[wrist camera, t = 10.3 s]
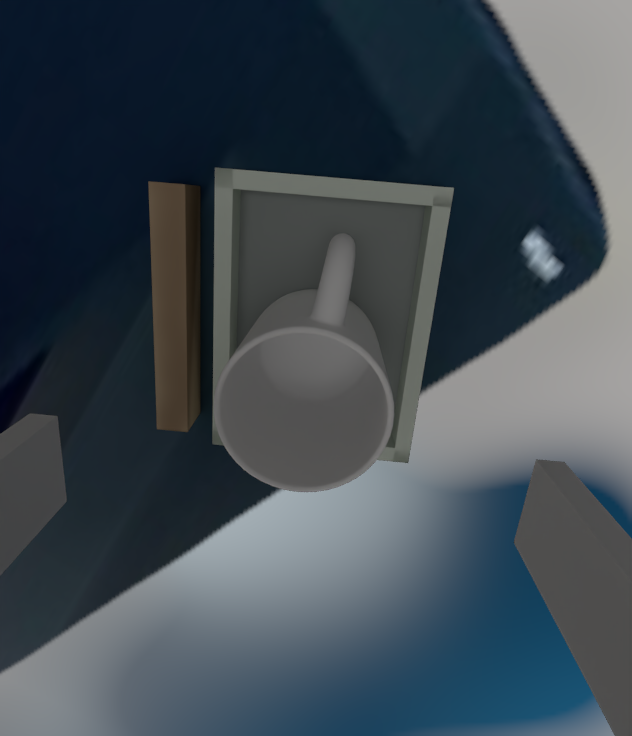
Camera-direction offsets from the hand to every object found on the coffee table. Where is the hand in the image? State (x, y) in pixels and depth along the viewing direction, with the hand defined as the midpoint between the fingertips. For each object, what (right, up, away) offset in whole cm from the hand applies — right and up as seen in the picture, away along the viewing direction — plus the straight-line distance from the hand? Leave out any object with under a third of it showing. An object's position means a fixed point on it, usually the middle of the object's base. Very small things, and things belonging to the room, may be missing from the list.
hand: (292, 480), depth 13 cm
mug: (+1, +6, +18) cm, 19 cm away
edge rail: (-8, +7, +18) cm, 21 cm away
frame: (+1, +6, +18) cm, 19 cm away
